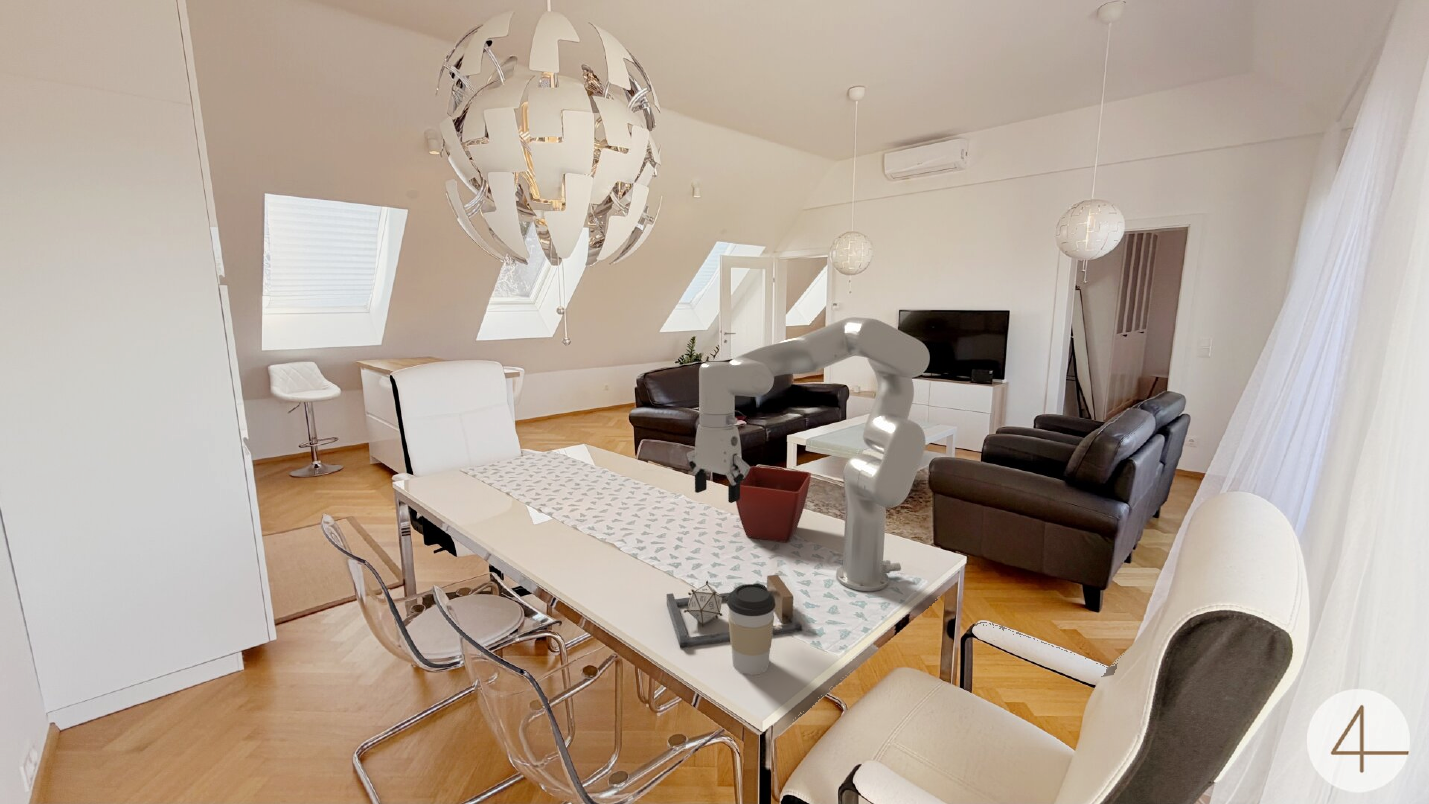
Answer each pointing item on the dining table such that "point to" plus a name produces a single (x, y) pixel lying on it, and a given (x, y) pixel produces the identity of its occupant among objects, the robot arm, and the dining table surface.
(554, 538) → the dining table surface
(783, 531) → the plant pot
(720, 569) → the dining table surface
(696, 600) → the game die
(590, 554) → the dining table surface
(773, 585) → the frame
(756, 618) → the coffee cup
